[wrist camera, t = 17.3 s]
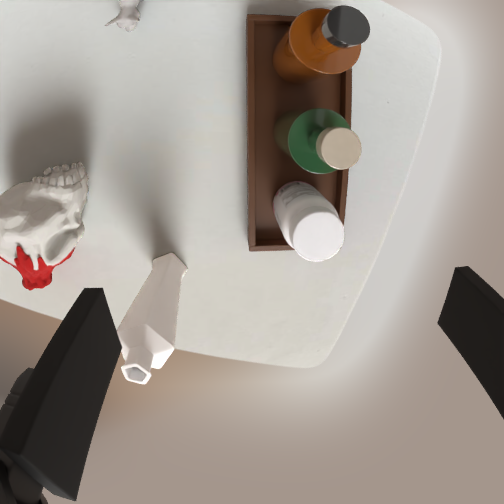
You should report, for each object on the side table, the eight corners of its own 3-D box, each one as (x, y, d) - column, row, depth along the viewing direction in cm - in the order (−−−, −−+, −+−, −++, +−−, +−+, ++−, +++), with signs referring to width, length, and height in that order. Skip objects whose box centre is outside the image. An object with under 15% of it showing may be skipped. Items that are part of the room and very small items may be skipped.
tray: (246, 20, 22) (247, 14, 20) (343, 28, 23) (350, 23, 21) (248, 243, 32) (249, 251, 30) (335, 240, 32) (341, 248, 30)
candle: (105, 156, 26) (95, 277, 34) (18, 140, 24) (22, 253, 32) (58, 192, 19) (67, 330, 26) (-36, 169, 16) (-14, 298, 24)
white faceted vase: (161, 293, 34) (129, 399, 20) (142, 260, 32) (94, 360, 18) (197, 280, 33) (181, 389, 20) (180, 246, 31) (147, 347, 18)
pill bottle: (311, 231, 31) (336, 272, 23) (266, 221, 30) (278, 260, 23) (326, 187, 29) (358, 215, 22) (279, 174, 28) (298, 198, 21)
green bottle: (272, 107, 26) (302, 104, 15) (322, 110, 26) (381, 112, 15) (272, 156, 28) (300, 188, 17) (321, 157, 28) (375, 189, 17)
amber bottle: (271, 35, 23) (302, -20, 11) (323, 39, 23) (387, -3, 11) (271, 83, 25) (304, 60, 13) (323, 86, 25) (391, 72, 13)
